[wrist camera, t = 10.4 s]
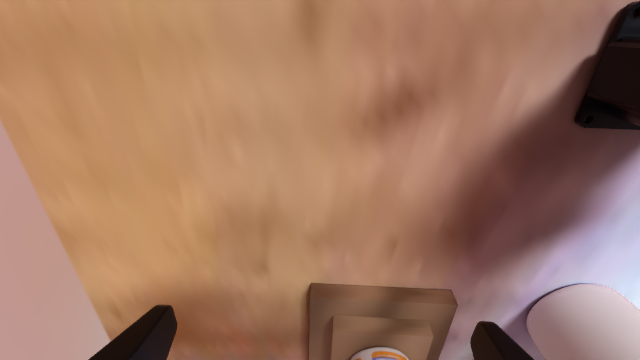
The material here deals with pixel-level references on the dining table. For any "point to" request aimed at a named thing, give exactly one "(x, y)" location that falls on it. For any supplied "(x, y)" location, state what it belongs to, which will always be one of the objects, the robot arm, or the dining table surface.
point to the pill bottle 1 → (379, 354)
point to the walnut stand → (378, 320)
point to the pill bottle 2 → (585, 324)
